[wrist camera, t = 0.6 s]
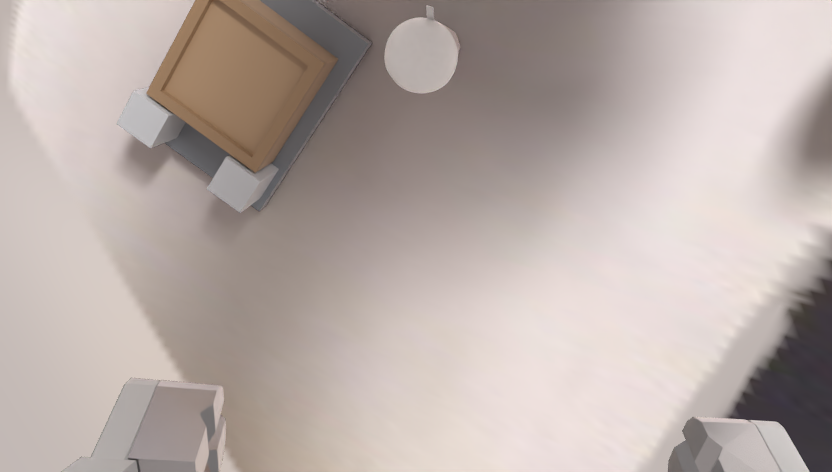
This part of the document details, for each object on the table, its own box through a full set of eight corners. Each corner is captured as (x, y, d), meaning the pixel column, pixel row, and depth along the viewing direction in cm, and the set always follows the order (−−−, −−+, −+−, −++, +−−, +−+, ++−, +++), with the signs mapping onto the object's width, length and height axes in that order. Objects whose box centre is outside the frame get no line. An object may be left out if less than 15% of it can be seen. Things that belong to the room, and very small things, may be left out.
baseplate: (237, -59, 50) (205, -65, 45) (372, 42, 51) (354, 47, 46) (142, 118, 56) (105, 130, 51) (264, 207, 56) (239, 227, 51)
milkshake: (481, 13, 49) (467, 17, 39) (458, 87, 51) (441, 107, 41) (420, -6, 49) (392, -6, 40) (400, 68, 51) (369, 84, 42)
